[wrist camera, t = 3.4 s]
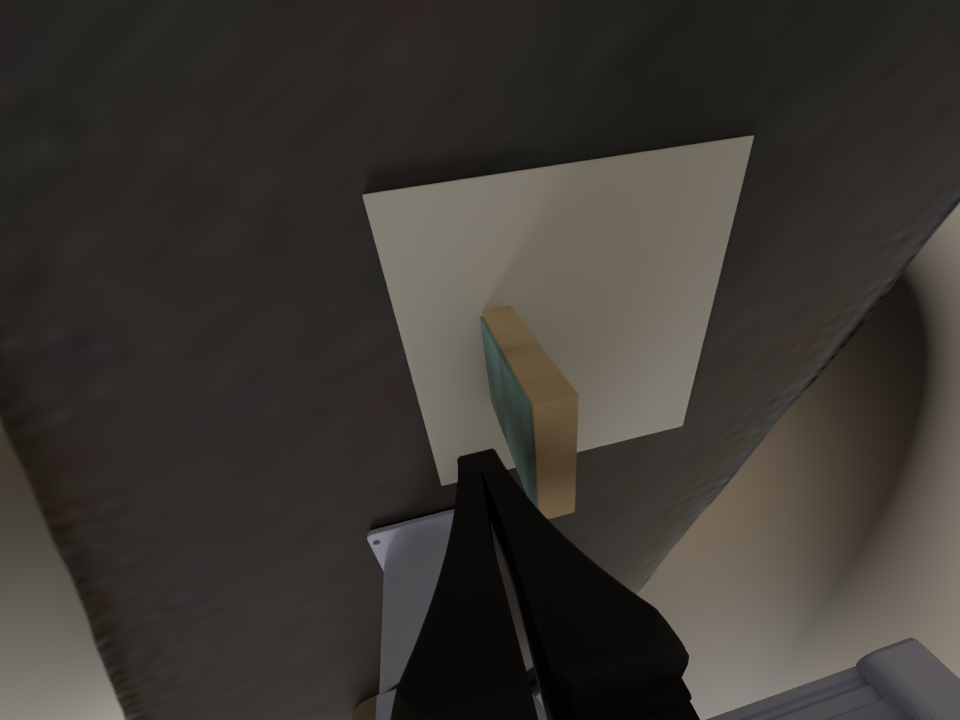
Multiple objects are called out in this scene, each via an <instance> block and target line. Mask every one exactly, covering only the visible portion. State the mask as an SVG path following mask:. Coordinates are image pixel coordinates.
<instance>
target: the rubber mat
mask: <svg viewBox="0 0 960 720" xmlns="http://www.w3.org/2000/svg"><path fill="white" fill-rule="evenodd" d="M753 138H754V136H744V137H737V138H730V139H724V140H717V141H711V142H704V143H698V144H691V145H684V146H678V147H671V148H665V149H658V150H651V151H645V152H638V153H632V154H625V155H618V156H612V157H605V158H599V159H592V160H585V161H579V162H572V163H566V164H559V165H552V166H546V167H539V168H533V169H526V170H519V171H513V172H506V173H500V174H493V175H486V176H480V177H473V178H467V179H460V180H453V181H447V182H440V183H434V184H427V185H420V186H414V187H407V188H401V189H394V190H388V191H381V192H374V193H368V194H363V195H362V196H363V199H364V203H365V207H366V210H367V214H368V218H369V221H370V225H371V229H372V232H373V236H374V240H375V243H376V247H377V251H378V254H379V258H380V262H381V265H382V269H383V273H384V276H385V280H386V284H387V287H388V291H389V295H390V298H391V302H392V306H393V309H394V313H395V317H396V320H397V324H398V328H399V331H400V335H401V339H402V342H403V346H404V350H405V353H406V357H407V361H408V364H409V368H410V372H411V375H412V379H413V383H414V386H415V390H416V394H417V397H418V401H419V405H420V408H421V412H422V416H423V419H424V423H425V427H426V430H427V434H428V438H429V441H430V445H431V449H432V452H433V456H434V460H435V463H436V467H437V471H438V474H439V478H440V482H441V485H442V486H444V485H448V484H452V483H456V482H457V481H458V465H457V459H458V458H459V456H463V455H467V454H471V453H476V452H480V451H484V450H488V449H492V448H493V449H495V450H496V452H497V454H498V456H499V457H500V459H501V461H502V462H503V464H504V466H505V467H506V469H507V470H508V469H512V468H516V466H515V464H514V461H513V458H512V456H511V453H510V450H509V448H508V445H507V443H506V440H505V437H504V435H503V432H502V429H501V427H500V424H499V422H498V419H497V416H496V414H495V411H494V408H493V406H492V403H491V396H490V389H489V381H488V374H487V366H486V359H485V351H484V344H483V336H482V329H481V321H480V317H482V311H485V310H490V309H495V308H500V307H505V306H510V307H511V308H512V309H513V310H514V312H515V313H516V314H517V316H518V317H519V318H520V320H521V321H522V322H523V323H524V325H525V326H526V327H527V329H528V330H529V331H530V332H531V334H532V335H533V336H534V338H535V339H536V340H537V342H538V343H539V344H540V345H541V347H542V348H543V349H544V351H545V352H546V353H547V355H548V356H549V357H550V358H551V360H552V361H553V362H554V364H555V365H556V366H557V368H558V369H559V370H560V371H561V373H562V374H563V375H564V377H565V378H566V379H567V381H568V382H569V383H570V384H571V386H572V387H573V388H574V390H575V391H576V392H577V393H578V395H579V401H578V430H577V452H580V451H584V450H588V449H592V448H596V447H600V446H604V445H608V444H612V443H616V442H620V441H624V440H628V439H632V438H636V437H640V436H644V435H648V434H652V433H656V432H660V431H664V430H668V429H672V428H676V427H680V426H683V422H684V418H685V414H686V410H687V406H688V402H689V398H690V394H691V390H692V386H693V382H694V378H695V374H696V370H697V365H698V361H699V357H700V353H701V349H702V345H703V341H704V337H705V333H706V329H707V325H708V321H709V317H710V313H711V309H712V305H713V301H714V297H715V292H716V288H717V284H718V280H719V276H720V272H721V268H722V264H723V260H724V256H725V252H726V248H727V244H728V240H729V236H730V232H731V228H732V224H733V220H734V215H735V211H736V207H737V203H738V199H739V195H740V191H741V187H742V183H743V179H744V175H745V171H746V167H747V163H748V159H749V155H750V151H751V147H752V142H753Z"/></svg>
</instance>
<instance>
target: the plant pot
mask: <svg viewBox="0 0 960 720" xmlns="http://www.w3.org/2000/svg"><path fill="white" fill-rule="evenodd" d="M376 700H377V695H376V696H373V697H371V698H369V699H367V700H365V701H363V702H362V703H360V704H359V705H358V706H357V707H356V709H355V711H354V714H353V716H352V719H351V720H365V719H369V718H373V720H376Z"/></svg>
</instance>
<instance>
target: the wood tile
mask: <svg viewBox="0 0 960 720" xmlns="http://www.w3.org/2000/svg"><path fill="white" fill-rule="evenodd" d="M480 321H481V329H482V336H483V344H484V351H485V359H486V366H487V374H488V381H489V389H490V396H491V403H492V406H493V408H494V411H495V414H496V416H497V419H498V422H499V424H500V427H501V429H502V432H503V435H504V437H505V440H506V443H507V445H508V448H509V450H510V453H511V456H512V458H513V461H514V464H515V466H516V469H517V471H518V474H519V477H520V479H521V482H522V485H523V487H524V490H525V492H526V495H527V497H528V498H529V499H530V500H531V501H532V503H533V504H534V505H535V506H536V507H537V508H538V509H539V510H540V512H541V513H542V514H543V515H544V516H545V517H546V518H547V519H551V518H555V517H558V516H562V515H566V514H569V513H573V512H575V488H576V459H577V430H578V401H579V395H578V393H577V392H576V391H575V390H574V388H573V387H572V386H571V384H570V383H569V382H568V381H567V379H566V378H565V377H564V375H563V374H562V373H561V371H560V370H559V369H558V368H557V366H556V365H555V364H554V362H553V361H552V360H551V358H550V357H549V356H548V355H547V353H546V352H545V351H544V349H543V348H542V347H541V345H540V344H539V343H538V342H537V340H536V339H535V338H534V336H533V335H532V334H531V332H530V331H529V330H528V329H527V327H526V326H525V325H524V323H523V322H522V321H521V320H520V318H519V317H518V316H517V314H516V313H515V312H514V310H513V309H512V308H511V307H510V306H505V307H500V308H495V309H490V310H485V311H482V317H480Z"/></svg>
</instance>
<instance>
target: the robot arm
mask: <svg viewBox="0 0 960 720" xmlns="http://www.w3.org/2000/svg"><path fill="white" fill-rule="evenodd" d="M457 465H458V481H457V493H456V501H455V509H451V510H447V511H444V512H440V513H436V514H432V515H428V516H424V517H420V518H416V519H413V520H409V521H405V522H401V523H397V524H393V525H389V526H386V527H382V528H378V529H374V530H371V531H370V532H368V536H367V540H368V542H369V544H370V546H371V548H372V550H373V552H374V554H375V555H376V557H377V559H378V561H379V563H380V565H381V567H382V569H383V571H384V586H383V612H382V638H381V663H380V689H379V694H378V695H377V700H376V720H700V719H699V717H698V715H697V713H696V711H695V710H694V708H693V706H692V704H691V702H690V700H691V694H690V692H689V690H688V689H687V687H686V685H685V683H684V681H683V680H682V675H683V673H684V671H685V669H686V667H687V665H688V660H689V655H688V653H687V652H686V649H685V647H684V646H683V644H682V642H681V641H680V639H679V638H678V636H677V635H676V634H675V632H674V631H673V629H672V628H671V627H670V625H669V624H668V623H667V621H666V620H665V619H664V618H663V616H662V615H661V614H660V613H659V612H658V610H657V609H656V608H654V607H653V606H652V605H650V604H649V603H648V602H646V601H645V600H643V599H642V598H640V597H639V596H637V595H636V594H635V593H633V592H632V591H631V590H629V589H628V588H626V587H625V586H624V585H622V584H621V583H620V582H618V581H617V580H616V579H614V578H613V577H612V576H611V575H609V574H608V573H607V572H605V571H604V570H603V569H602V568H600V567H599V566H598V565H597V564H596V563H594V562H593V561H592V560H591V559H590V558H589V557H587V556H586V555H585V554H584V553H583V552H581V551H580V550H579V549H578V548H577V547H576V546H575V545H573V544H572V543H571V542H570V541H569V540H568V539H567V538H566V537H565V536H564V535H563V534H562V533H561V532H560V531H559V530H558V529H557V528H556V527H555V526H554V525H553V524H552V523H551V522H550V521H549V520H548V519H547V518H546V517H545V516H544V515H543V514H542V513H541V512H540V510H539V509H538V508H537V507H536V506H535V505H534V504H533V503H532V501H531V500H530V499H529V498H528V497H527V495H526V494H525V493H524V492H523V490H522V489H521V488H520V487H519V485H518V484H517V483H516V481H515V480H514V479H513V477H512V476H511V474H510V473H509V472H508V470H507V469H506V467H505V466H504V464H503V462H502V461H501V459H500V457H499V456H498V454H497V452H496V450H495V449H493V448H492V449H488V450H484V451H480V452H476V453H471V454H467V455H463V456H459V458H458V459H457ZM490 520H491V523H492V526H493V529H494V532H495V534H496V537H497V540H498V543H499V546H500V549H501V552H502V555H503V558H504V561H505V564H506V566H507V569H508V572H509V575H510V578H511V581H512V585H513V588H514V591H515V595H516V599H517V603H518V606H519V610H520V614H521V618H522V622H523V626H524V630H525V634H526V638H527V642H528V646H529V650H530V654H531V658H532V662H533V665H534V669H535V673H536V677H537V681H538V685H539V689H540V693H541V697H542V701H543V705H544V709H543V707H542V705H541V703H540V702H539V701H538V699H537V698H536V697H535V696H534V695H533V694H532V691H531V687H530V683H529V680H528V676H527V672H526V668H525V665H524V661H523V657H522V653H521V650H520V646H519V642H518V638H517V634H516V631H515V627H514V623H513V619H512V615H511V612H510V608H509V604H508V600H507V596H506V592H505V589H504V585H503V581H502V577H501V573H500V569H499V565H498V561H497V557H496V553H495V549H494V542H493V536H492V529H491V523H490ZM544 710H545V711H544ZM365 720H373V718H369V719H365ZM707 720H960V679H959V678H958V677H957V676H956V675H955V674H954V673H953V672H951V671H950V670H949V669H948V668H947V667H946V666H945V665H944V664H943V663H942V662H941V661H940V660H939V659H938V658H936V657H935V656H934V655H933V654H932V653H931V652H930V651H929V650H928V649H927V648H926V647H924V646H923V645H922V644H921V643H920V642H919V641H918V640H916V639H913V638H909V639H906V640H903V641H900V642H897V643H894V644H892V645H889V646H886V647H883V648H880V649H878V650H875V651H873V652H871V653H869V654H867V655H866V656H864V657H863V658H861V659H860V660H859V661H858V662H857V664H856V666H855V667H852V668H850V669H847V670H844V671H841V672H838V673H836V674H833V675H830V676H827V677H824V678H822V679H819V680H816V681H814V682H810V683H808V684H805V685H802V686H799V687H796V688H794V689H791V690H788V691H785V692H782V693H780V694H777V695H774V696H771V697H768V698H766V699H763V700H760V701H757V702H754V703H752V704H749V705H746V706H743V707H740V708H738V709H735V710H732V711H729V712H726V713H724V714H721V715H718V716H715V717H712V718H710V719H707Z"/></svg>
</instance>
